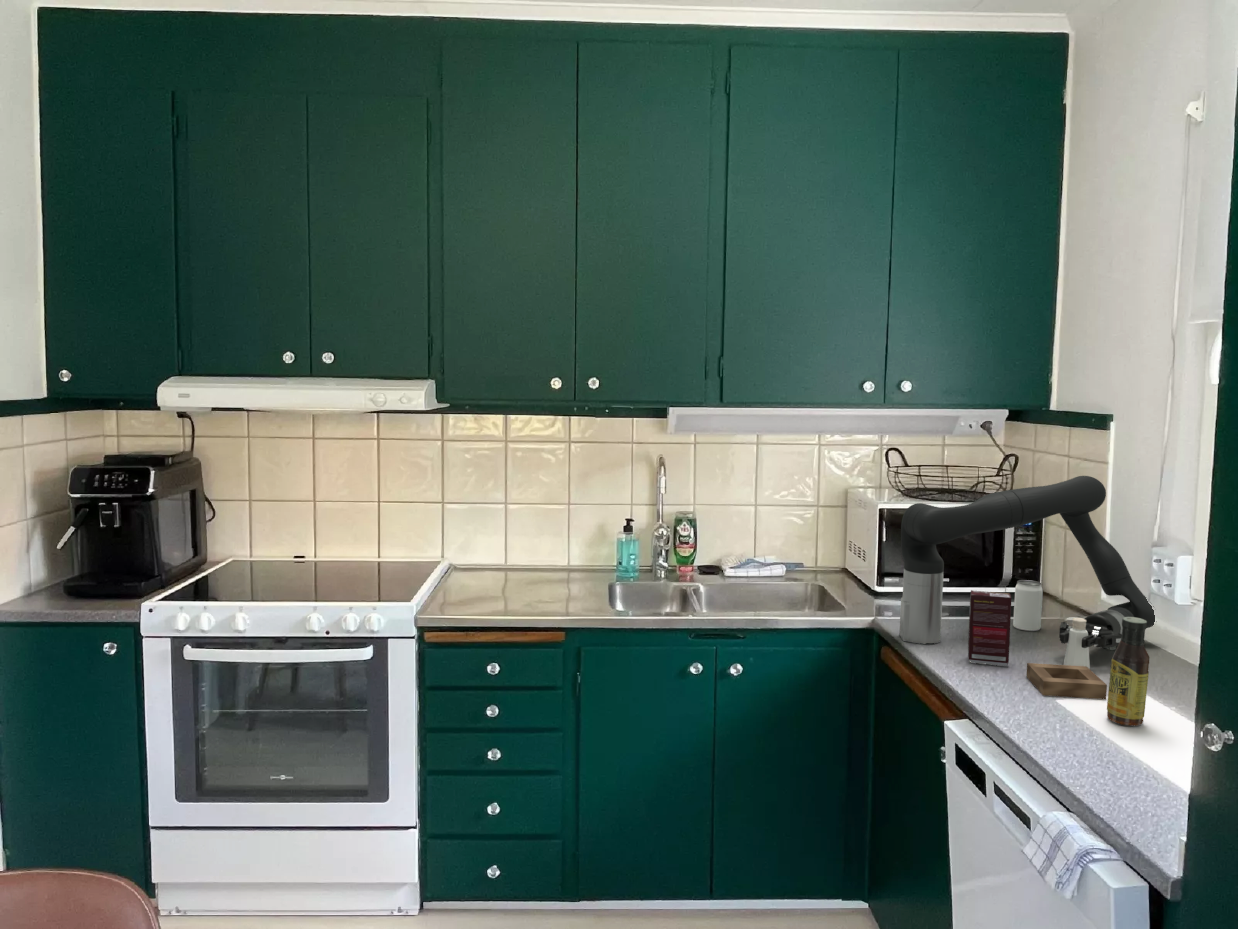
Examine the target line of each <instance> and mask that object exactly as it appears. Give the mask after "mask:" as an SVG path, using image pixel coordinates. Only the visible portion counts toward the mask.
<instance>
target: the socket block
mask: <svg viewBox="0 0 1238 929" xmlns="http://www.w3.org/2000/svg"><path fill="white" fill-rule="evenodd" d="M1025 677H1026V678H1027V679H1028V681H1030V682H1031V684H1032V685H1033V686H1034V687H1035V689H1036V690H1038V692H1039V693H1040V694H1041V695H1042V696H1044V697H1045V696H1047V697H1048V696H1049V697H1059V698H1060V697H1064V698H1079V699H1093V700H1096V699H1097V700H1107V691H1108V685H1107V683H1105V681H1103V680H1102V679H1101V678H1100V677H1099V676H1098V675H1097V674H1095V673H1094V671H1092V670H1091V669H1089V668H1088V667H1087V666H1071V665H1064V664H1052V663H1051V664H1049V663H1035V662H1033V663H1032V662H1031V663H1030V662H1026V675H1025Z"/></svg>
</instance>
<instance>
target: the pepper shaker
mask: <svg viewBox="0 0 1238 929" xmlns="http://www.w3.org/2000/svg"><path fill="white" fill-rule="evenodd" d="M1071 620H1072V627H1073V628H1071V629H1070V631H1069V638H1068V642H1067V643H1066V647H1065V654H1064V660H1063V665H1071V666H1087V667H1088V668H1089V669H1090V667H1091V666H1090V647H1087V648H1082V638H1083V637H1086V636H1088V632H1087V630H1085V629H1086V628H1085V627H1086V620H1085V619H1084V618H1082V617H1074V618H1072V619H1071ZM1090 670H1091V669H1090Z"/></svg>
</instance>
